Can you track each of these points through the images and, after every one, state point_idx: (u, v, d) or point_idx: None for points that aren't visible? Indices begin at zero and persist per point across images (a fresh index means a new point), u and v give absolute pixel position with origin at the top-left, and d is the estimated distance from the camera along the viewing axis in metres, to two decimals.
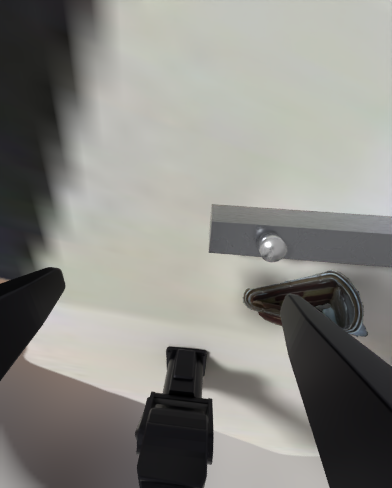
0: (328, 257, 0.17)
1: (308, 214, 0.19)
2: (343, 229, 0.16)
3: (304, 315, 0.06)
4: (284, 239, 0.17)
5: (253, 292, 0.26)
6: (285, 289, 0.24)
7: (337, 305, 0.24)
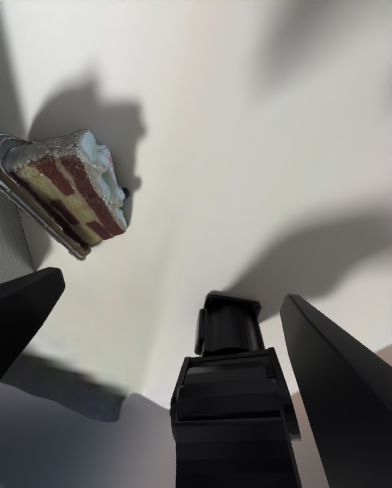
0: None
1: None
2: None
3: (304, 315, 0.06)
4: None
5: None
6: None
7: (58, 138, 0.15)
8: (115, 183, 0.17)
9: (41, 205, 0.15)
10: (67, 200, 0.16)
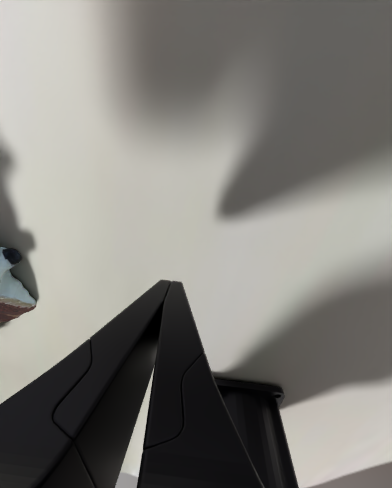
0: None
1: None
2: None
3: (165, 299, 0.06)
4: None
5: None
6: None
7: None
8: None
9: None
10: None
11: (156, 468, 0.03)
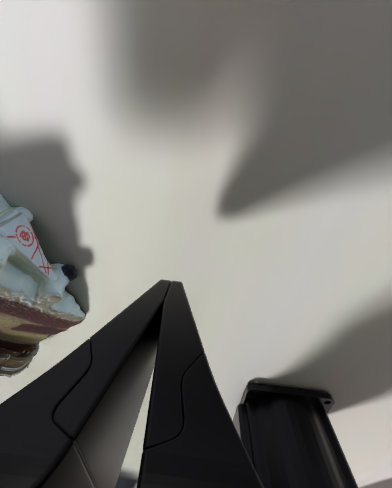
0: None
1: None
2: None
3: (165, 299, 0.06)
4: None
5: None
6: None
7: None
8: (42, 269, 0.10)
9: None
10: None
11: (156, 468, 0.03)
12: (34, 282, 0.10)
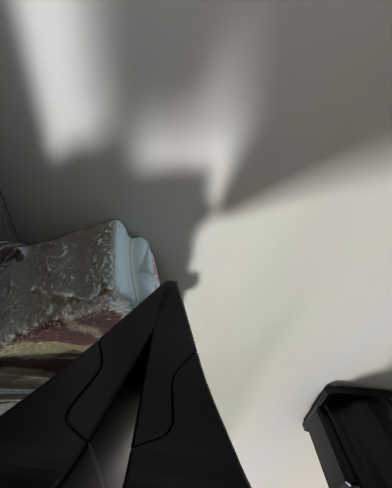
0: None
1: None
2: None
3: (159, 298, 0.06)
4: None
5: None
6: None
7: (65, 243, 0.09)
8: None
9: (42, 367, 0.08)
10: (86, 348, 0.09)
11: (143, 466, 0.03)
12: None
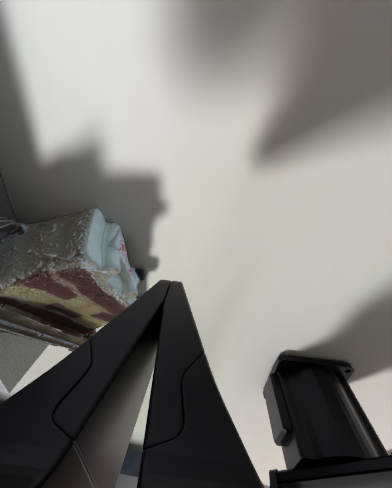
0: None
1: None
2: None
3: (165, 299, 0.06)
4: None
5: None
6: None
7: (56, 223, 0.12)
8: (129, 273, 0.13)
9: (33, 313, 0.12)
10: (67, 302, 0.12)
11: (156, 468, 0.03)
12: (121, 281, 0.13)
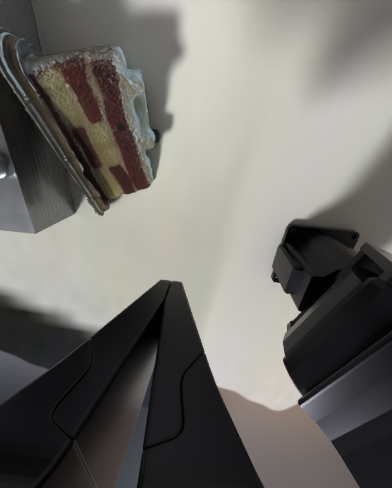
0: None
1: None
2: None
3: (165, 299, 0.06)
4: None
5: None
6: None
7: None
8: (147, 118, 0.14)
9: (62, 132, 0.13)
10: (92, 130, 0.13)
11: (156, 468, 0.03)
12: (140, 126, 0.14)
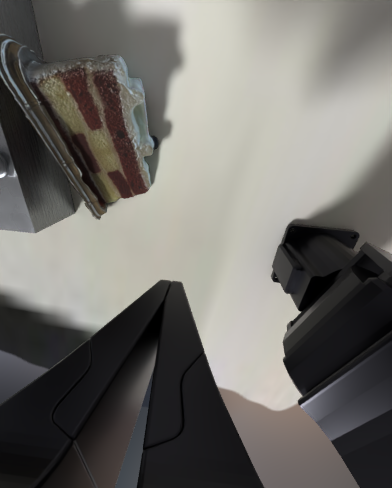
0: None
1: None
2: None
3: (165, 299, 0.06)
4: None
5: None
6: None
7: None
8: (147, 125, 0.15)
9: (62, 137, 0.13)
10: (92, 136, 0.13)
11: (156, 468, 0.03)
12: (139, 134, 0.15)
